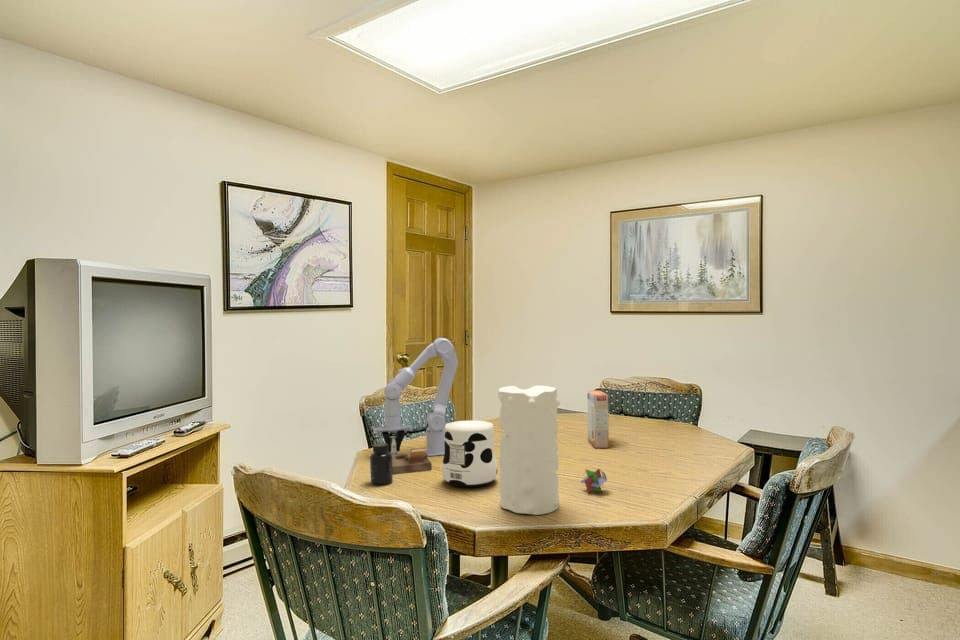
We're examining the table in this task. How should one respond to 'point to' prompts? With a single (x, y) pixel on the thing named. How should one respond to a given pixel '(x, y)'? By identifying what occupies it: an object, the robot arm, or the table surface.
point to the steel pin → (393, 445)
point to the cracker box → (598, 419)
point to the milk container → (469, 453)
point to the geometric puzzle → (594, 480)
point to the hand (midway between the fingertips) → (393, 451)
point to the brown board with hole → (409, 464)
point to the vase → (529, 449)
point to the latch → (417, 453)
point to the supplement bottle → (381, 465)
